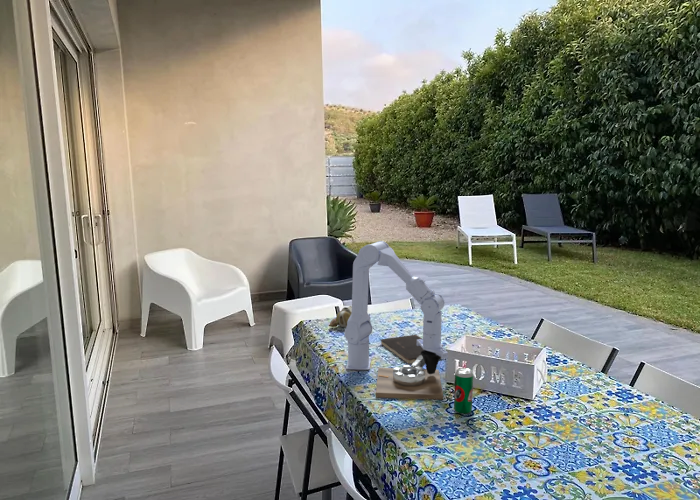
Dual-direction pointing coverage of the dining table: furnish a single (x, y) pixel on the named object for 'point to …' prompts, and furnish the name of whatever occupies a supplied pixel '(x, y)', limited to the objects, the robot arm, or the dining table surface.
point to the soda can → (463, 391)
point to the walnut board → (393, 390)
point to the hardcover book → (404, 347)
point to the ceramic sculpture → (342, 317)
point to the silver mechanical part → (410, 373)
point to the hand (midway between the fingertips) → (431, 373)
